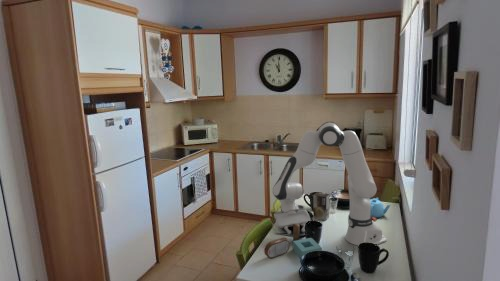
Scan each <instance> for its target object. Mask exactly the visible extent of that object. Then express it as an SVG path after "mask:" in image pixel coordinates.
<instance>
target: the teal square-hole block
mask: <svg viewBox="0 0 500 281" xmlns="http://www.w3.org/2000/svg"><path fill="white" fill-rule="evenodd" d="M292 250H293V252H294V253H295V252H296V253H295V254H296V255H297V256H298V257H299V259H300V258H301V257H302V256H303V255H305V254H307V253H309V252H312V251H322V250H323V246H322V247H321V245H320V244H319V243H318V242H316V240H314V239H313V237H308V238H307V237H306V238H302V239H299V240H296V241H293V240H292Z"/></svg>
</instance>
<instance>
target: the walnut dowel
mask: <svg viewBox="0 0 500 281" xmlns="http://www.w3.org/2000/svg"><path fill="white" fill-rule="evenodd" d="M300 226H301V225H299V224H293V226H292V229H293V231H292V239H293V240H292V242H293V241H296V240H300V231H301V230H300Z"/></svg>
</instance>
